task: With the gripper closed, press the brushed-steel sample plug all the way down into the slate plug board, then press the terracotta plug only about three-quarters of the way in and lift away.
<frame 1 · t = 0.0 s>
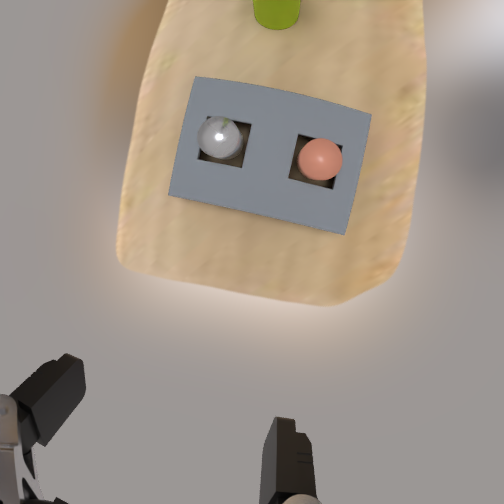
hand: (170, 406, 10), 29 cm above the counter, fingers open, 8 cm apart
terracotta plug: (318, 160, 30), point 7 cm above the counter, slide at 0.0 cm
steel plug: (221, 139, 30), point 7 cm above the counter, slide at 0.0 cm
soap dispenser: (279, 16, 32), on the counter
plug board: (270, 154, 36), on the counter
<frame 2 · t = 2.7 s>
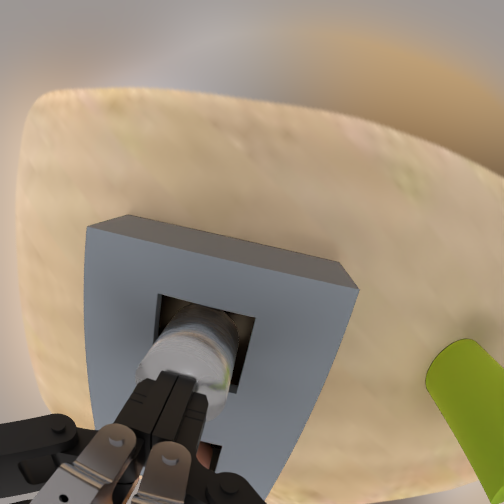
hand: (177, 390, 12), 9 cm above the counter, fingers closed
terracotta plug: (177, 471, 16), point 7 cm above the counter, slide at 0.0 cm
steel plug: (192, 360, 14), point 6 cm above the counter, slide at 0.3 cm, touching gripper
soap dispenser: (448, 371, 20), on the counter
plug board: (204, 368, 21), on the counter
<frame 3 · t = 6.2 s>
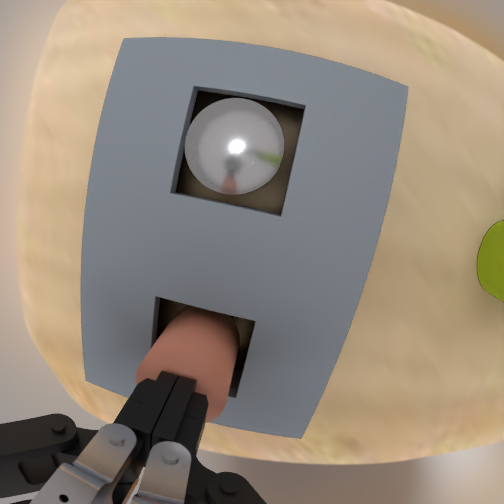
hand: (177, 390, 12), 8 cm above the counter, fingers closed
terracotta plug: (193, 360, 14), point 6 cm above the counter, slide at 0.6 cm, touching gripper
steel plug: (240, 150, 14), point 3 cm above the counter, slide at 3.1 cm
soap dispenser: (497, 261, 18), on the counter
plug board: (229, 238, 19), on the counter
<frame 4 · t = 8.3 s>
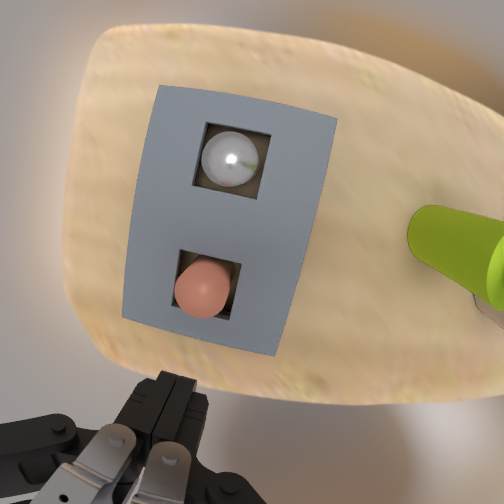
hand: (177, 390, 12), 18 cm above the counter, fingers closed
terracotta plug: (206, 283, 25), point 4 cm above the counter, slide at 2.2 cm
steel plug: (233, 160, 23), point 3 cm above the counter, slide at 3.1 cm
soap dispenser: (427, 236, 27), on the counter
plug board: (225, 216, 28), on the counter
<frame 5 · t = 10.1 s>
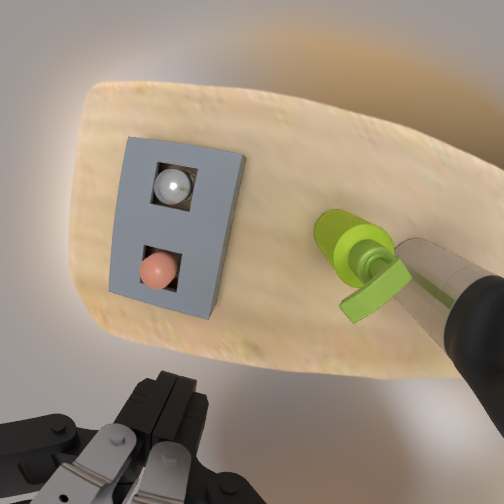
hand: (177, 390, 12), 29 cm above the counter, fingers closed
terracotta plug: (162, 267, 37), point 4 cm above the counter, slide at 2.2 cm
steel plug: (177, 186, 35), point 3 cm above the counter, slide at 3.1 cm
soap dispenser: (333, 234, 39), on the counter
plug board: (178, 222, 40), on the counter
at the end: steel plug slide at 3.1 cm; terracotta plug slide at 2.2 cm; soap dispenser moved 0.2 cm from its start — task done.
